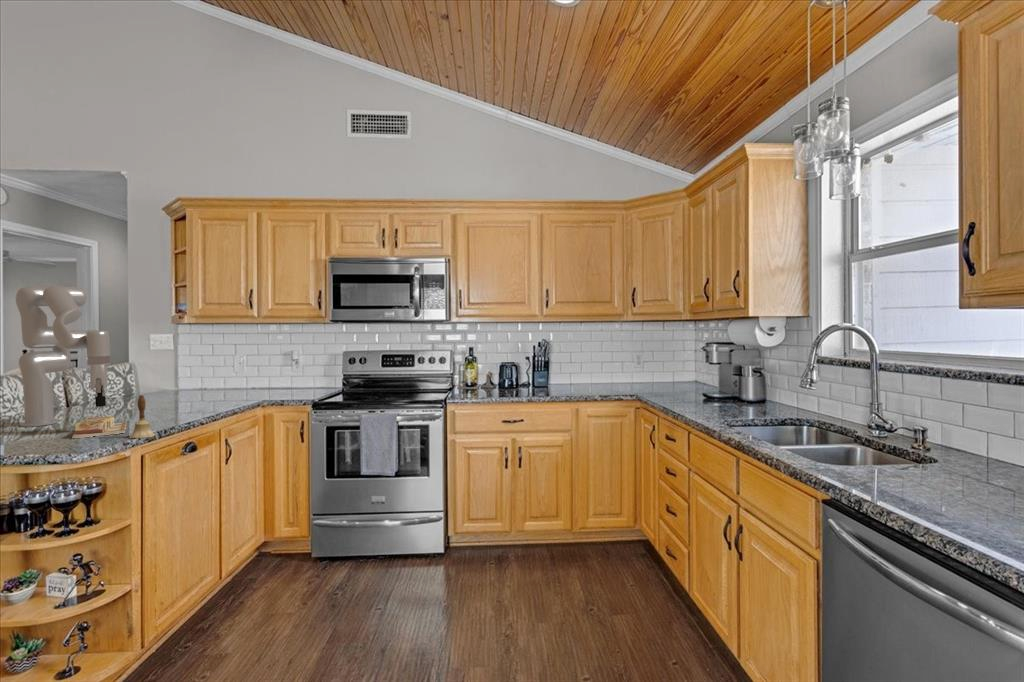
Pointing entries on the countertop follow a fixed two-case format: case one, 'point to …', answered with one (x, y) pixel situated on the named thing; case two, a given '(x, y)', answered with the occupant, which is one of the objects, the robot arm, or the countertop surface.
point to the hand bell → (142, 422)
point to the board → (113, 430)
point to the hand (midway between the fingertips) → (100, 406)
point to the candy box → (94, 425)
